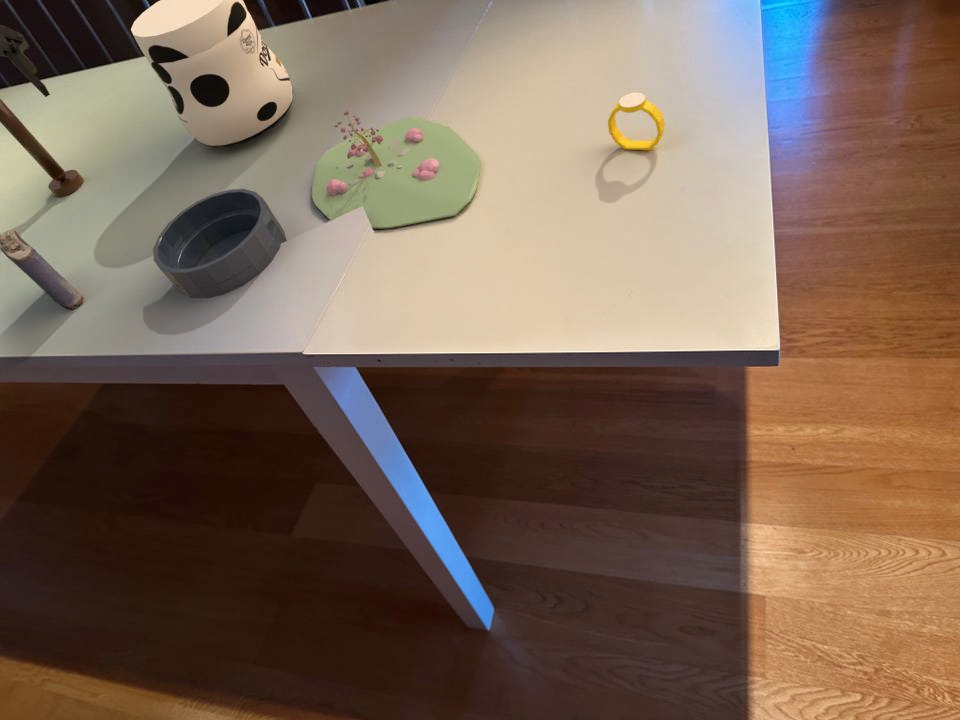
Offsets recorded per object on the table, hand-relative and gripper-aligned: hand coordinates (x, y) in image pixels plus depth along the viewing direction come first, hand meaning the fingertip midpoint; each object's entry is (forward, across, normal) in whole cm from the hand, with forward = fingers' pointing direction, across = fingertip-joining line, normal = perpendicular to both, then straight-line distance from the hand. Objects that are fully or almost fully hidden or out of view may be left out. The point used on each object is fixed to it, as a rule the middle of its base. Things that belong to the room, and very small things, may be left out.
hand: (5, 117), depth 98 cm
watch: (+66, -42, +48) cm, 92 cm away
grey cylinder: (+29, +12, +11) cm, 33 cm away
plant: (+48, -27, +31) cm, 63 cm away
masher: (+10, 0, -8) cm, 12 cm away
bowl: (+43, -5, +26) cm, 50 cm away
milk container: (+23, -25, +6) cm, 35 cm away
